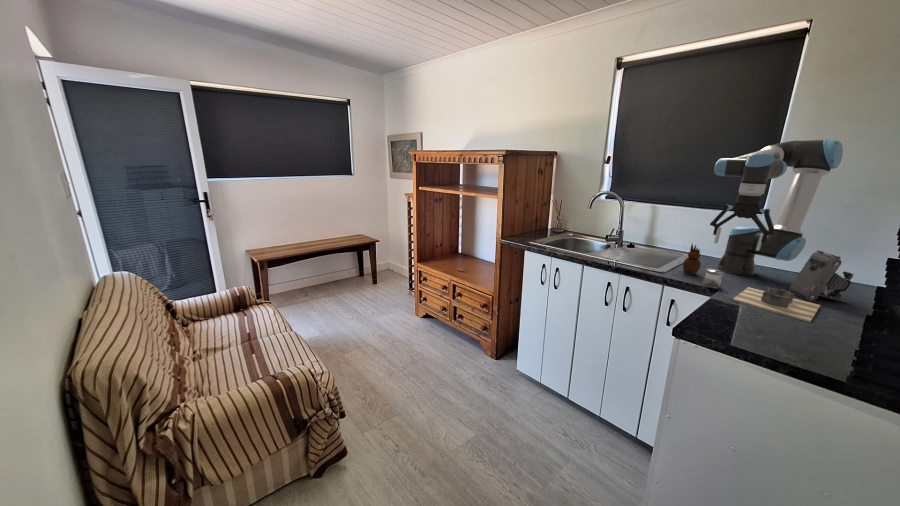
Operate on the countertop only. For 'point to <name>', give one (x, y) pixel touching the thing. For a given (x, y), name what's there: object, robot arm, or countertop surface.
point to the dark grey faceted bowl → (777, 297)
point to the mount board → (794, 309)
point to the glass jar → (713, 277)
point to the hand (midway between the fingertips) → (735, 246)
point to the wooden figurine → (692, 261)
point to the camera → (821, 278)
